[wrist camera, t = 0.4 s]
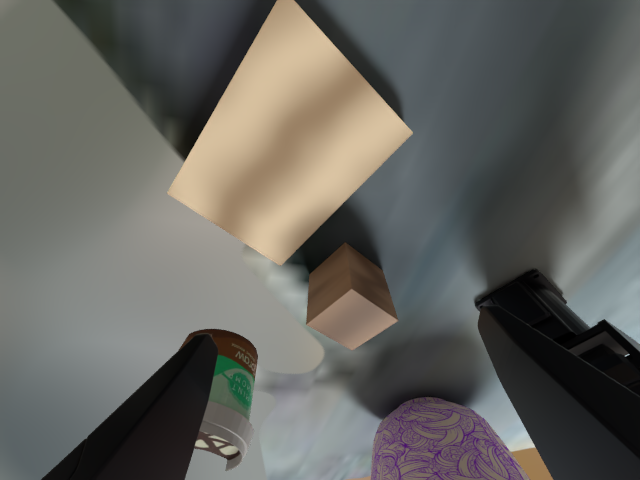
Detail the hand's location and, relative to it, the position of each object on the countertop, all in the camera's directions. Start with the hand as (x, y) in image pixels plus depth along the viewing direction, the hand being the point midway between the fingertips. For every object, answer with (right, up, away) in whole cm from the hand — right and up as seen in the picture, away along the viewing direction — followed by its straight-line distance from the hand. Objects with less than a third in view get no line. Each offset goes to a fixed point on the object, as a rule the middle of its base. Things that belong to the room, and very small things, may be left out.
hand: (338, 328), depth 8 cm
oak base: (-3, +9, +10) cm, 14 cm away
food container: (-11, -10, +23) cm, 27 cm away
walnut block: (+2, 0, +16) cm, 16 cm away
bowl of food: (+15, -23, +31) cm, 42 cm away
